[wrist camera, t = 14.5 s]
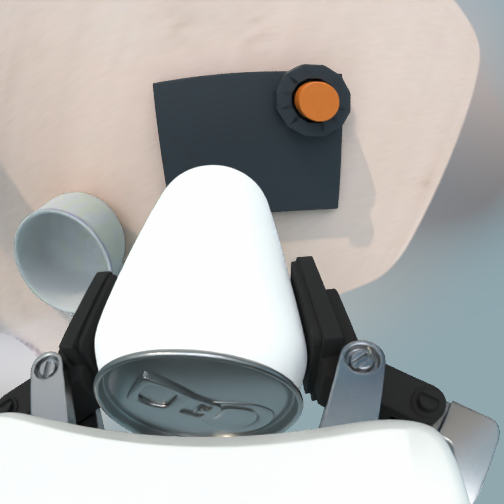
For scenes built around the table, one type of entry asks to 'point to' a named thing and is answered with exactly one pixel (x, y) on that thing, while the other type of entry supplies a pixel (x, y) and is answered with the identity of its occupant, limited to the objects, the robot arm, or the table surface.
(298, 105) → the button
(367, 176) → the table surface
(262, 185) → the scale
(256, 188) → the can
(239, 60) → the table surface
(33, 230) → the teacup
